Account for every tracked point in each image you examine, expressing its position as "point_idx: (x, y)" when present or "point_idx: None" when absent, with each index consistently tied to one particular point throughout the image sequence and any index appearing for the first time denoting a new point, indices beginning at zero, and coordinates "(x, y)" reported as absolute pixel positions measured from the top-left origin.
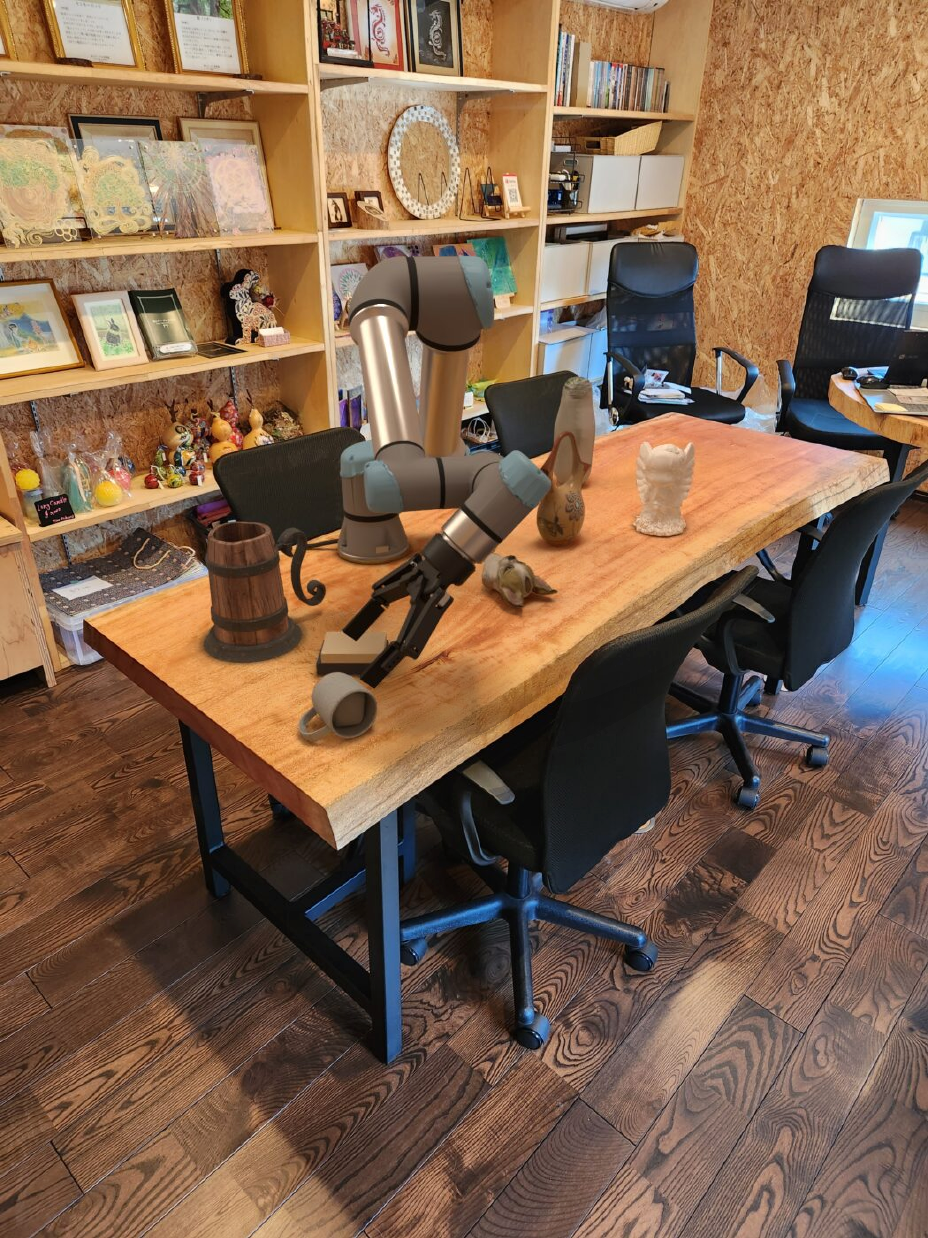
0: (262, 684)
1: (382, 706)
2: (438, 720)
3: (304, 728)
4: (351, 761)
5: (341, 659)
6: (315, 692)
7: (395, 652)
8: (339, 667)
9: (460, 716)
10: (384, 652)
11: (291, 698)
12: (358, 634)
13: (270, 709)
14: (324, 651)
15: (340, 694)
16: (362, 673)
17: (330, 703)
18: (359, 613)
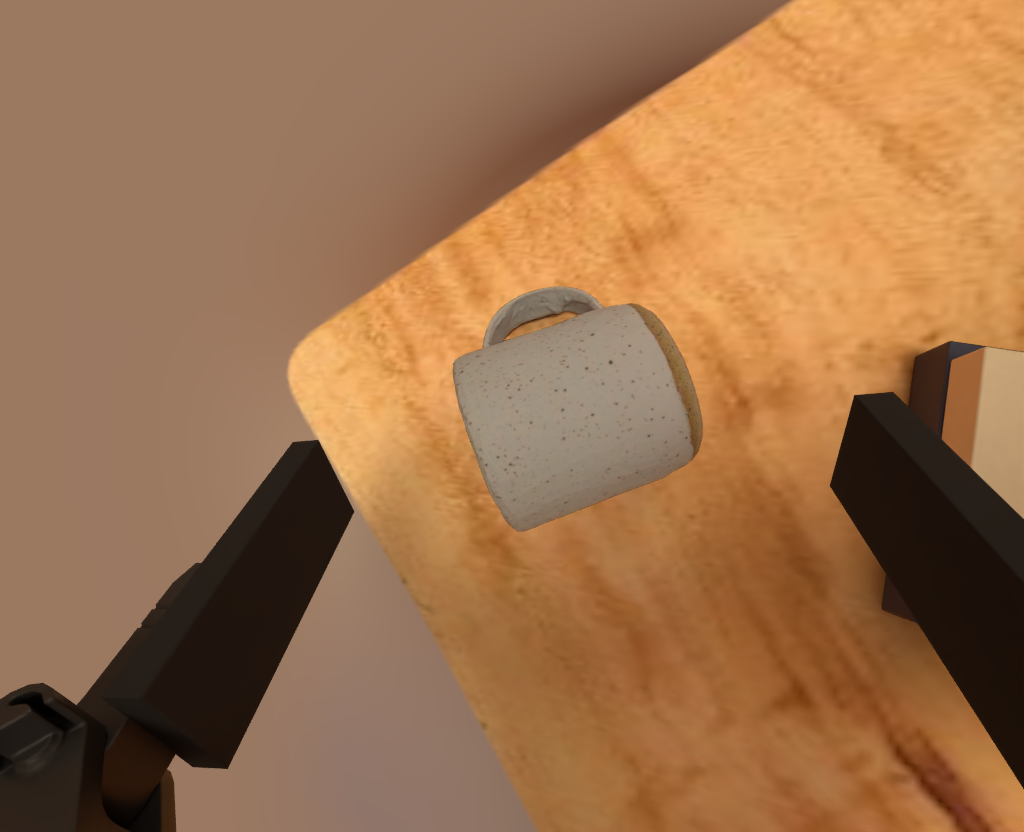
0: (871, 180)
1: (657, 559)
2: (534, 730)
3: (549, 306)
4: (404, 429)
5: (953, 438)
6: (600, 310)
7: (98, 694)
8: None
9: (540, 817)
10: (165, 611)
11: (762, 273)
12: (854, 501)
13: (706, 215)
14: (1006, 363)
15: (473, 384)
16: (299, 457)
17: (478, 354)
18: (980, 526)
